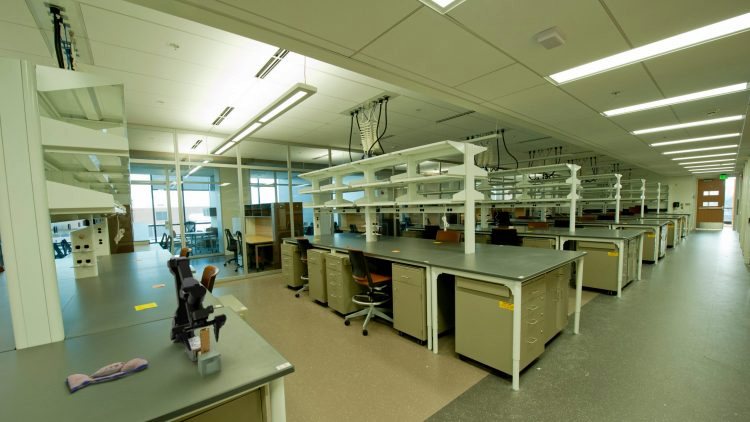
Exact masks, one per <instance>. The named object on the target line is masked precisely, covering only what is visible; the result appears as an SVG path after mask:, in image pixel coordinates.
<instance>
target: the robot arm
mask: <svg viewBox="0 0 750 422" xmlns="http://www.w3.org/2000/svg"><path fill="white" fill-rule="evenodd" d="M166 261H167V262H166V267H167V268H168V270H169V273H170V274H171V275H172V276H173V278H174V287H175V296H176V304H177V307H176V309H175V310H174V311H175V312H174V313H173V318H172V321H171V330H170V333H169V337H170V341H173V343H174V344H175V343H180V344H182V345H183V346H184V348H185V347H186V348H187V349H188V350H189V351H191V346H190V343H189V340H188V339H190V338H194V337H196V334H195V331H196V330H199V329H200V330H201V329H204V328H208V327H211V326H213V329H212V330H213V334H214V339H215V342H216V343H218V342H219V339H220V338H219V337H220V331H221V330H220V329H221V328H222V327H223V326H225V324H226V322H227V319H228V318H227V315H226V314H224V313H222V314H218V315H214V317H213V319H211V320H210V319H209V317H210V315H212V314H214V313H215V310H214V309H215V307H214V306H213V304H210V305H207V306H206V308H205V307H204V304H203V302H204V301H205V298H206V295H207V292H208V290H207V288H206V286H204V285H201V284H200V282H199V280H198V279H196V278H195V277H194V275H193V272H192V269H191V258H190V257H186V255H185V256H175V257H170V258H169V260H166Z"/></svg>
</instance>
